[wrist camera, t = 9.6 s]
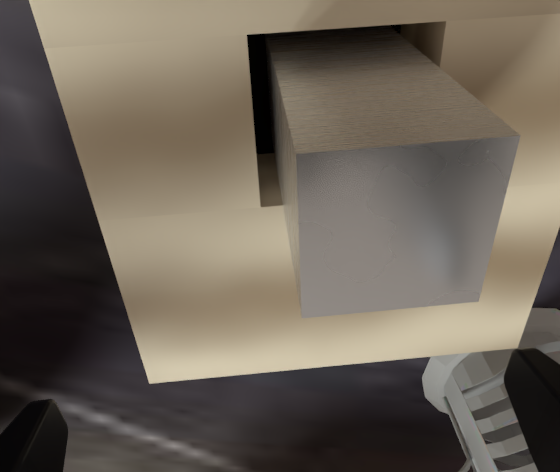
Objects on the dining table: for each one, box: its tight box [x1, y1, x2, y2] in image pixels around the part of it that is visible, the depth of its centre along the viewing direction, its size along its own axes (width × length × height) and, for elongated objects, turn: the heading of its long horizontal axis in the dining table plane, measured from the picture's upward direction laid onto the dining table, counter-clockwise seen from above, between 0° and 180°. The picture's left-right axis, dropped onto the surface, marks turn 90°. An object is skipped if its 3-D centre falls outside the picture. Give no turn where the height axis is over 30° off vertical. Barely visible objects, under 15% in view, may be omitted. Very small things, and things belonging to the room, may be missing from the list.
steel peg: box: [265, 25, 521, 318], centre depth 14 cm, size 4×4×10 cm
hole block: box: [29, 0, 560, 384], centre depth 16 cm, size 22×16×4 cm
